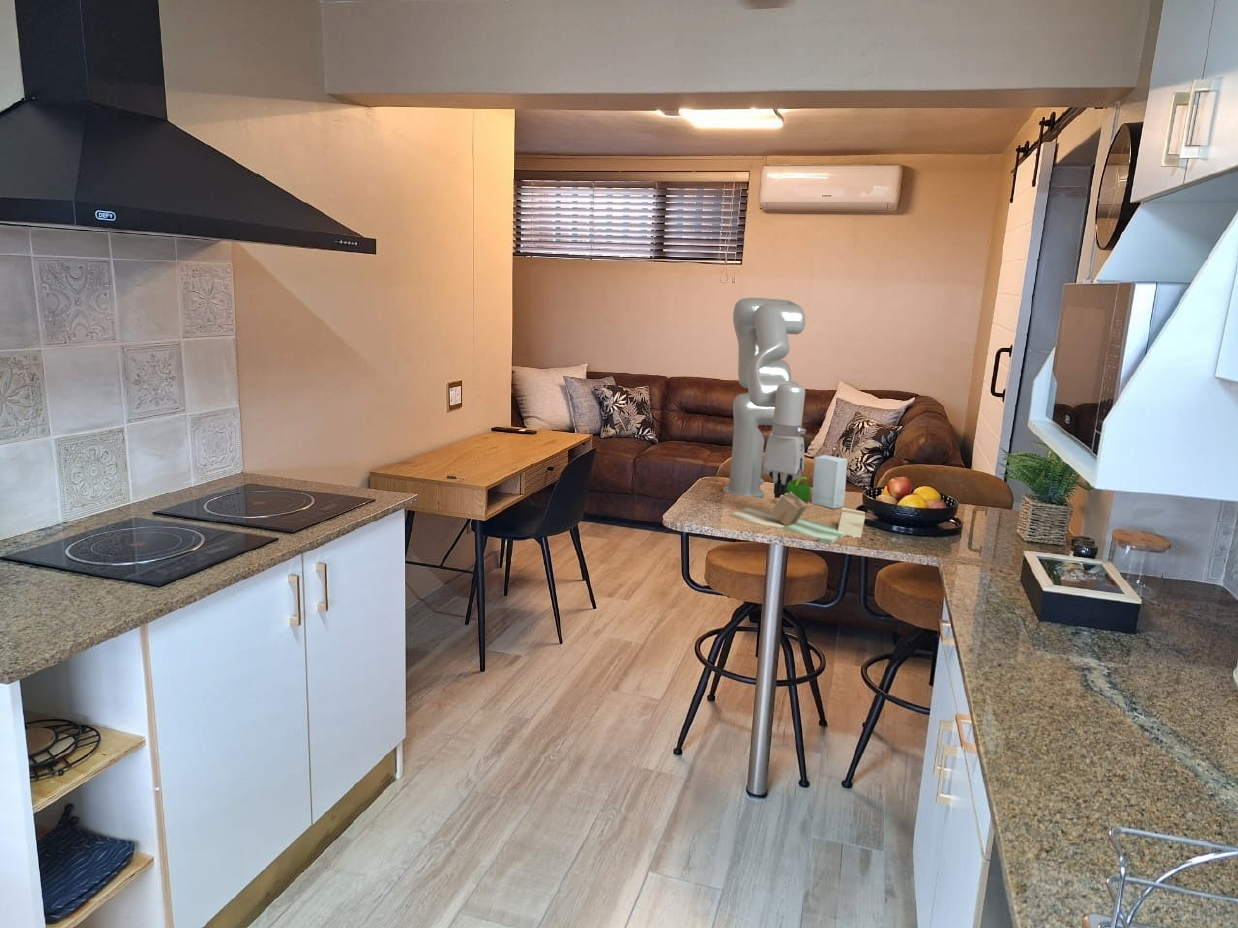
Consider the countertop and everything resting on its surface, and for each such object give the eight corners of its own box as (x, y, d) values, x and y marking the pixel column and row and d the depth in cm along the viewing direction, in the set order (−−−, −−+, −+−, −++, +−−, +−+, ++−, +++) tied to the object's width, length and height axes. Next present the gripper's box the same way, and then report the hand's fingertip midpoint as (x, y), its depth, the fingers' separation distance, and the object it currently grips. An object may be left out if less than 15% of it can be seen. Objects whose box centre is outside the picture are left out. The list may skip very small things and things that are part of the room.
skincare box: (844, 506, 246) (850, 458, 243) (833, 509, 242) (839, 460, 239) (820, 500, 252) (825, 453, 249) (809, 503, 248) (814, 455, 245)
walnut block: (790, 491, 222) (808, 505, 219) (779, 508, 224) (796, 522, 222) (781, 495, 217) (798, 509, 214) (769, 512, 220) (787, 526, 217)
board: (748, 510, 235) (748, 506, 235) (849, 533, 218) (850, 529, 218) (725, 519, 224) (726, 516, 224) (830, 544, 207) (830, 540, 207)
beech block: (837, 528, 222) (841, 507, 220) (860, 533, 220) (864, 511, 219) (837, 534, 216) (841, 512, 215) (860, 538, 214) (865, 517, 213)
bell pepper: (775, 509, 238) (779, 476, 236) (784, 504, 245) (787, 471, 243) (804, 515, 234) (808, 481, 232) (811, 509, 241) (815, 476, 239)
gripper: (818, 433, 216) (810, 500, 219) (767, 425, 224) (760, 490, 228) (807, 436, 210) (799, 505, 213) (754, 428, 218) (748, 494, 222)
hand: (779, 497), depth 221 cm, fingers closed
